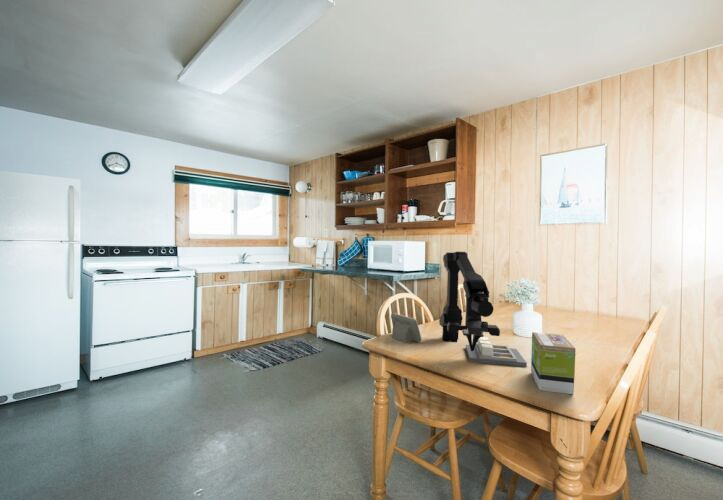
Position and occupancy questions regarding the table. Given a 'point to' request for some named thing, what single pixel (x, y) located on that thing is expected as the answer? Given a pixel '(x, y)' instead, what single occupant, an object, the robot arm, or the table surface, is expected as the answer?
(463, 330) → the robot arm
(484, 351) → the tab
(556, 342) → the tea box
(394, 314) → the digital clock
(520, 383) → the table surface
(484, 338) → the tab
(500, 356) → the switch bank
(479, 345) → the white cube block
